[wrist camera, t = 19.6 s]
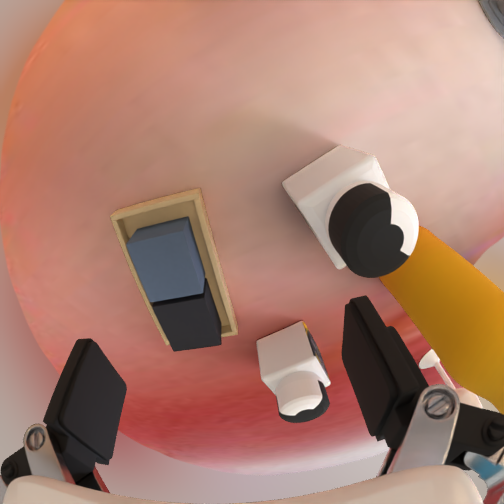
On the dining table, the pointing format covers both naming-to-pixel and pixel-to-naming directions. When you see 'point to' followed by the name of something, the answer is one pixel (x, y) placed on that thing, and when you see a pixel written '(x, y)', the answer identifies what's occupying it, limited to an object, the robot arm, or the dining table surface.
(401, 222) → the container
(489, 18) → the mate gourd
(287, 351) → the medicine bottle
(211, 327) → the pad
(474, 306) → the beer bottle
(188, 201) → the wooden tray
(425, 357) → the champagne flute
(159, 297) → the blue block
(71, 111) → the dining table surface
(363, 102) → the dining table surface
